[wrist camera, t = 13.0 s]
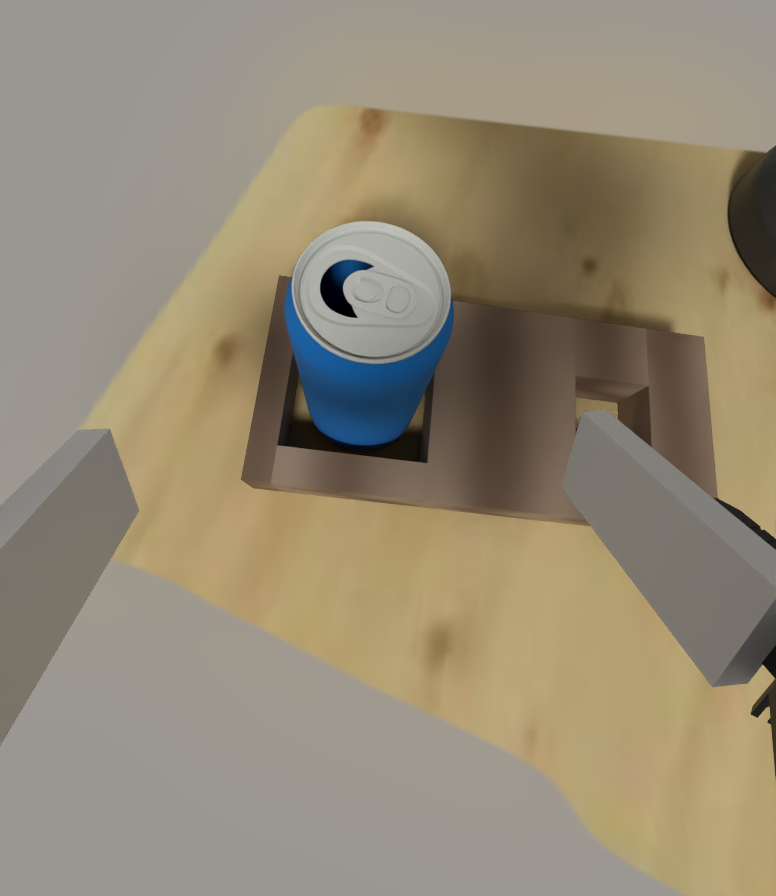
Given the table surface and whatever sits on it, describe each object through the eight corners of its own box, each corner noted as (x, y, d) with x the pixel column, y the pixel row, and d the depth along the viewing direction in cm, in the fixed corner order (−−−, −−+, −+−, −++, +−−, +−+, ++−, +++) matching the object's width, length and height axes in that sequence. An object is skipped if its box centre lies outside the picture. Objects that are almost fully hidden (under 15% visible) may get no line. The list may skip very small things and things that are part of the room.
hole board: (668, 358, 30) (703, 336, 27) (679, 536, 27) (720, 534, 24) (286, 304, 28) (279, 275, 25) (253, 488, 25) (241, 479, 22)
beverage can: (326, 342, 28) (311, 189, 16) (423, 371, 28) (479, 239, 16) (294, 437, 26) (252, 342, 14) (398, 466, 26) (440, 396, 14)
